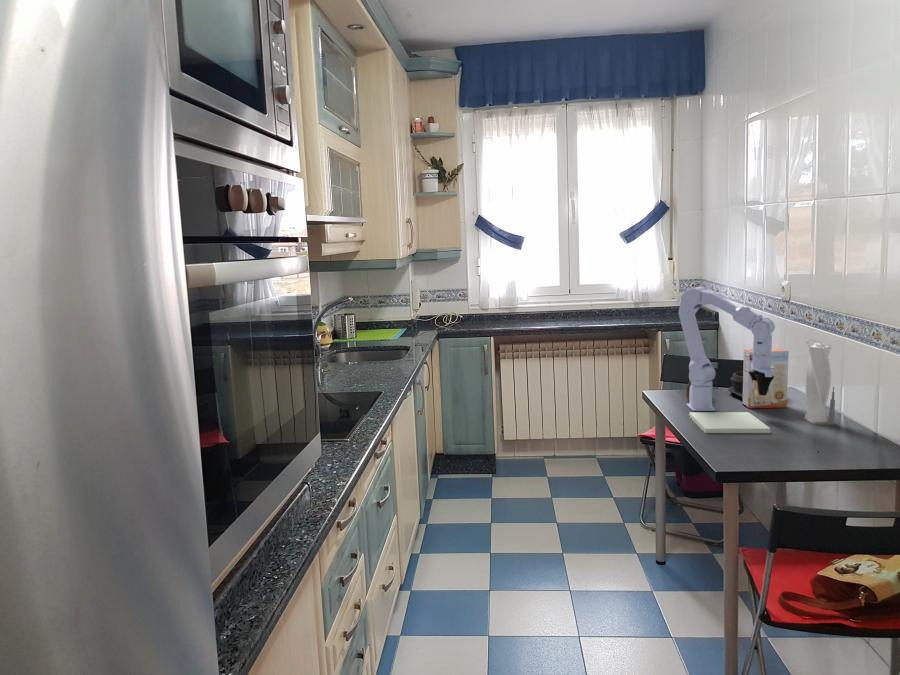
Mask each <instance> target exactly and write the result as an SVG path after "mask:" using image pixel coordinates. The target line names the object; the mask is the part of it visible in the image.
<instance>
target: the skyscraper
mask: <svg viewBox="0 0 900 675" xmlns="http://www.w3.org/2000/svg"><path fill="white" fill-rule="evenodd" d="M809 342H814V344H813V345H811V344H810V343H809ZM806 343H807V347H808V352H809V358H808V363H807V366H806V371H805V382H804V385H805V387H804V388H805V399H806V405H807V410H806V413H805V415H804V418H803V419H804V420H805V421H807V422H808V423H811V424H812V425H813V426H814V425H817V426H819V425H824V426H825V425H836V423H835V414H836V413H835V411H836V410H835V408H836V399H835V386H832V391H831V399H830V401H829V402H830V403H829V412H828V418H827V415H826V411H825V408H826V406H827V402H828V398H829V395H830V390H831V382H832V372H831V364H830V358H829V355H830V352H831V349H832V344H829V343H826V342H821V341H819V340H816V339H807V340H806ZM810 345H811V346H810Z"/></svg>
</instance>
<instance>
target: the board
mask: <svg viewBox="0 0 900 675" xmlns="http://www.w3.org/2000/svg"><path fill="white" fill-rule="evenodd" d="M688 416H690V417H689V418H690V419H691V418H692V419H691V420H692V421H693V422H694V423H695V424H696V426H698V428H699V429H701V431H703V433H704V434H771V428H770V427H769V426H767V425H766V424H765V423H764V422H762V421H761V420H760V419H759V418H757V417H756V416H754V415H753V414H752V413H750V412H748V411H747V412H746V411H745V412H744V411H743V412H742V411H741V412H740V411H738V412H737V411H731V412H730V411H728V412H727V411H726V412H725V411H724V412H723V411H722V412H721V411H720V412H719V411H718V412H717V411H692V412H689V413H688Z"/></svg>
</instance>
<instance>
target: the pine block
mask: <svg viewBox="0 0 900 675" xmlns="http://www.w3.org/2000/svg"><path fill="white" fill-rule="evenodd" d="M752 397H753V398H754V399H756V400H769V388H768V391H767V394H766V395H759V391H758V383H757V380H753V390H752Z"/></svg>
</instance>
